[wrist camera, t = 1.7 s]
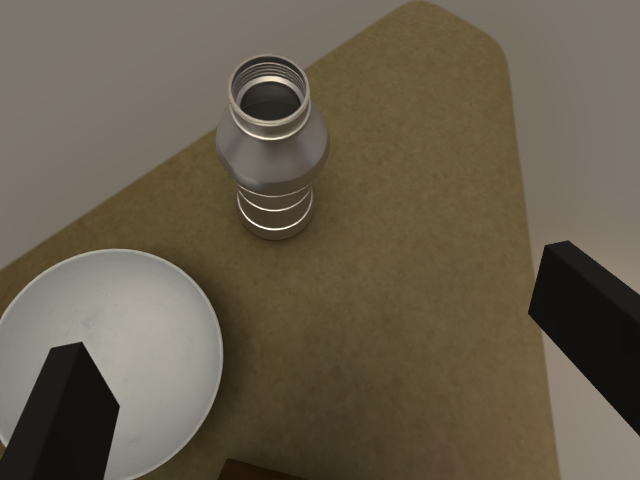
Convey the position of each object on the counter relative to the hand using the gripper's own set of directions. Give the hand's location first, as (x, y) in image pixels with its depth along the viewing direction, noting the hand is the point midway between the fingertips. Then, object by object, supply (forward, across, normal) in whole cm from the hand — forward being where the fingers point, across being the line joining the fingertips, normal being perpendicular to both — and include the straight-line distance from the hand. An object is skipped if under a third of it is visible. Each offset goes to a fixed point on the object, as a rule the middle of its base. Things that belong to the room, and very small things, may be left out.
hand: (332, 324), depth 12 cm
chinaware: (+18, -13, -17) cm, 28 cm away
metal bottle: (+25, 0, -10) cm, 27 cm away
